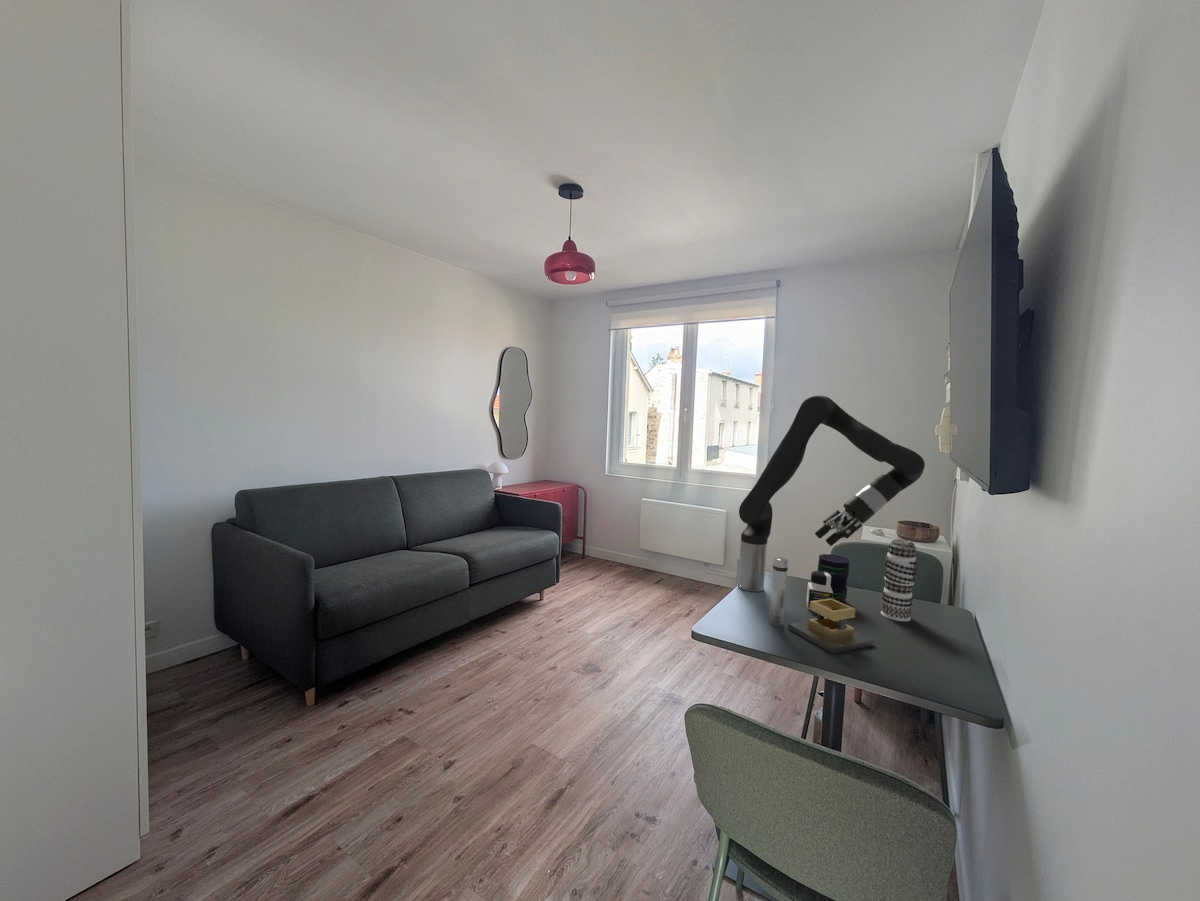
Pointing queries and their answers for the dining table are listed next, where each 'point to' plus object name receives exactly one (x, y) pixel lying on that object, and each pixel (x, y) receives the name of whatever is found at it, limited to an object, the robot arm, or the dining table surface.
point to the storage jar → (836, 574)
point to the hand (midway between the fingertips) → (822, 539)
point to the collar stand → (831, 627)
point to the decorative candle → (899, 580)
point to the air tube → (778, 591)
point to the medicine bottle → (819, 587)
